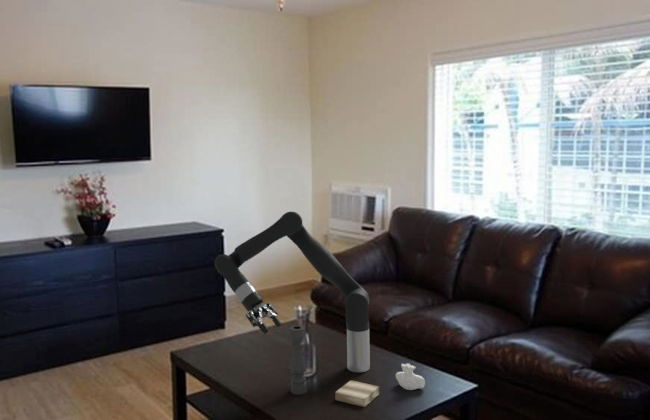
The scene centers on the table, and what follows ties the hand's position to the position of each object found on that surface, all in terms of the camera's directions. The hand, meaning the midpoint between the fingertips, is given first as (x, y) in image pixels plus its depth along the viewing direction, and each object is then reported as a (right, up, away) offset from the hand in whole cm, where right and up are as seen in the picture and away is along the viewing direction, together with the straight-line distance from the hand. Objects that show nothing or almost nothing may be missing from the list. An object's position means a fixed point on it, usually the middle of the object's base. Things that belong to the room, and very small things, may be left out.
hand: (273, 329), depth 229 cm
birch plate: (+32, -24, -8) cm, 41 cm away
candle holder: (+10, -23, -2) cm, 25 cm away
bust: (+52, -23, -2) cm, 57 cm away
